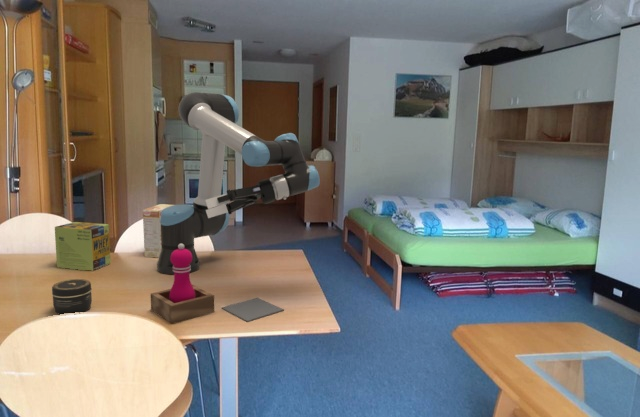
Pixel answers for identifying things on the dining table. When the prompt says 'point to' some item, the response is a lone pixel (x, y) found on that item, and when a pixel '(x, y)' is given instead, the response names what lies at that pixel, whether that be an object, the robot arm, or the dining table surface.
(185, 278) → the pepper mill
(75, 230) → the protein box
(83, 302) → the jar
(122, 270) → the dining table surface
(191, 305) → the walnut box
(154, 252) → the coffeecake box
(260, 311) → the mat
